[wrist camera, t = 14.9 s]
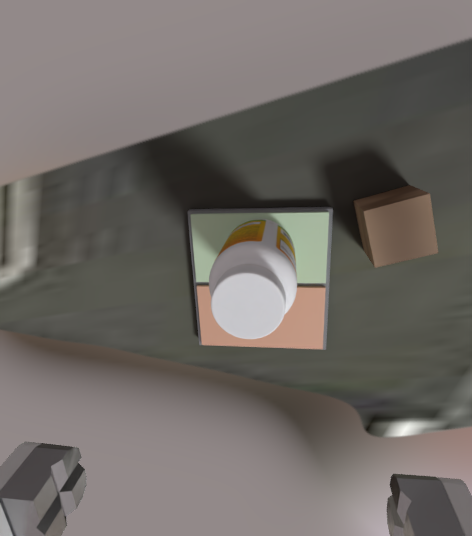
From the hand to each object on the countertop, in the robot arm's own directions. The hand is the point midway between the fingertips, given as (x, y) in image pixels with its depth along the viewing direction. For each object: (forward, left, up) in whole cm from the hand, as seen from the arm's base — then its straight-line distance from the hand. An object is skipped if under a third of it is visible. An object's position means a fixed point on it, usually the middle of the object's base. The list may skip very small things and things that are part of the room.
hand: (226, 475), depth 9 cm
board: (+1, +3, -21) cm, 21 cm away
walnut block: (-9, -2, -21) cm, 23 cm away
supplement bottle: (+1, 0, -20) cm, 20 cm away
